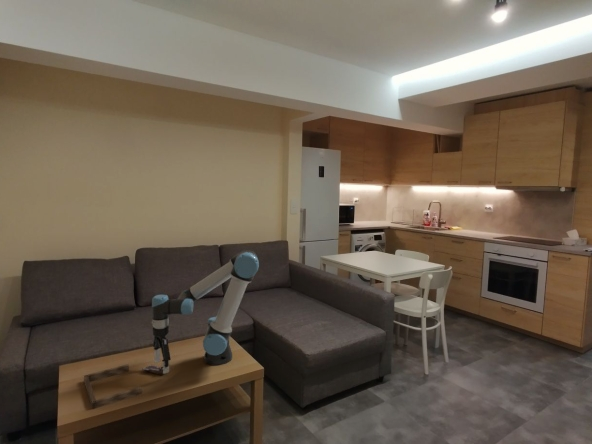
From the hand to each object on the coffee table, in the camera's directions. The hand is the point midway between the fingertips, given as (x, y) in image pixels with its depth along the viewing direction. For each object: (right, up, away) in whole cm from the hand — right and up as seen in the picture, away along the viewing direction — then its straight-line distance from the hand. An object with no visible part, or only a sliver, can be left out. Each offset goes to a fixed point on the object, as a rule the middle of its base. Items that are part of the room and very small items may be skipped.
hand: (161, 367), depth 177 cm
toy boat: (-1, -5, -1) cm, 5 cm away
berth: (-17, -4, -13) cm, 22 cm away
